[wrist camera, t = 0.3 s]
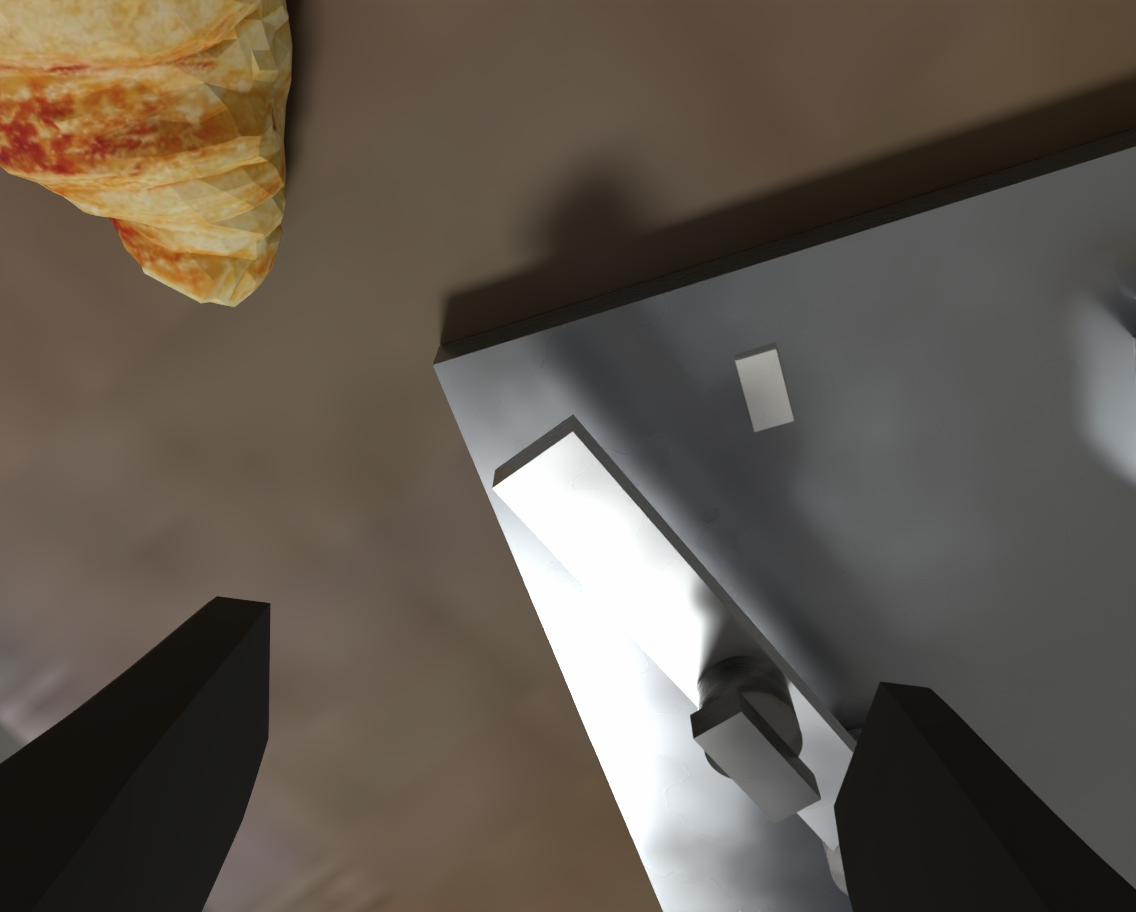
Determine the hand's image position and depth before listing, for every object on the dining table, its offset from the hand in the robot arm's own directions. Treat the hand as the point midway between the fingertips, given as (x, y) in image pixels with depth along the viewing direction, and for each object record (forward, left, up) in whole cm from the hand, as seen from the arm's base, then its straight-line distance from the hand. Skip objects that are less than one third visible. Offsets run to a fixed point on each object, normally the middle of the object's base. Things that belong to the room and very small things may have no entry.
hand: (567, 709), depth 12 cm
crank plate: (-9, -7, -10) cm, 15 cm away
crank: (-6, -2, -9) cm, 11 cm away
